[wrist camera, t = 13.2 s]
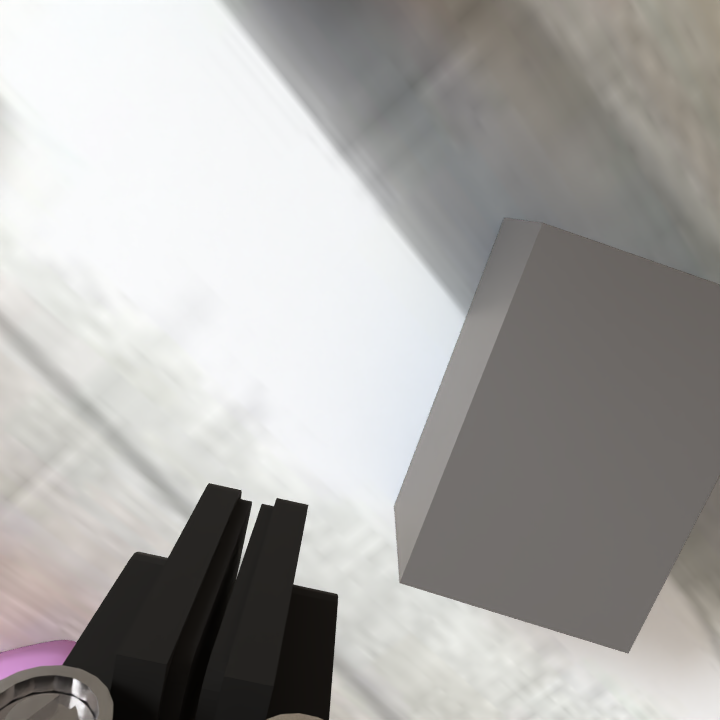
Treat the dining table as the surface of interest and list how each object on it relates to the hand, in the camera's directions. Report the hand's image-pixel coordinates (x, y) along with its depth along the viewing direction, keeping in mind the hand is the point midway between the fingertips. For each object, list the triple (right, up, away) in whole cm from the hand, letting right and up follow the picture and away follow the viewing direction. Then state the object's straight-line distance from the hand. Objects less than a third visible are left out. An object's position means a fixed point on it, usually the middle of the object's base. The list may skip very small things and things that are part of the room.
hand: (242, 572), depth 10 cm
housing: (+13, +1, +26) cm, 29 cm away
